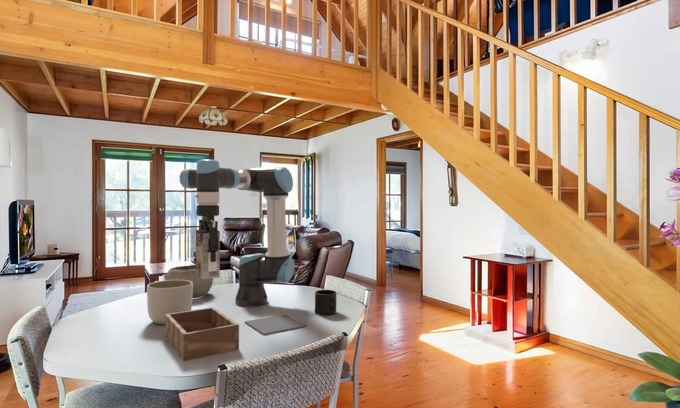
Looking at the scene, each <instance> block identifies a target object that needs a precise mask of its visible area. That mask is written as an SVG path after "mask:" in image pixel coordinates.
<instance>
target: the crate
mask: <svg viewBox="0 0 680 408" xmlns="http://www.w3.org/2000/svg"><path fill="white" fill-rule="evenodd" d="M164 338H166V340H167V341H168V343H170V345H171V347H172V348H173V349H174V350H175V351H176V353H177V354H178V356H179V357H180V358H181V359H182V360H183V361H189V360H193V359H199V358H203V357H207V356H213V355H217V354H221V353H226V352H230V351H235V350H239V349H240V324H239V323H237V322H236V321H235V320H233V319H231V318H230V317H228V316H227V315H226V314H224V313H223V312H222V311H220V310H219V309H217V308H216V307H214V306H212V307H205V308H199V309H191V310H190V311H184V312H177V313H170V314H165V325H164Z"/></svg>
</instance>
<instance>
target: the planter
mask: <svg viewBox="0 0 680 408" xmlns="http://www.w3.org/2000/svg"><path fill="white" fill-rule="evenodd" d="M192 294H193V282H192V281H189V280H166V279H165V280H157V281H154V282H150V283H148V284H147V285H146V301H147V303H146V305H147V312H148V313H147V314H148V317H149V318H150V320H151V321H153V322H154V323H155V324H158V325H163V326H165V314H170V313H177V312H184V311H190V310H192V307H193V299H192Z"/></svg>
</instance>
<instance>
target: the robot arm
mask: <svg viewBox="0 0 680 408" xmlns="http://www.w3.org/2000/svg"><path fill="white" fill-rule="evenodd" d="M219 162H220V161H218V160H215V159H199V160H198V161H196V168H184V169H183V170H181V172H180V173H179V184H180V185H181V187H182V188H184V189H190V190H191V189H196V194H195V195H194V198H196V211H195V213H196V216H198V217H201V219H199V220H198V230H205V231H209V233H210V239H208V247H209V250H207V253H208V272H211V271H217V251H218V250H219V242H218V231H219V230H218V227H219V226H218V224H219V221H216V220H215V217H217V216H219V215H220V206H219V205H218V204H220V189H226V190H227V189H229V190H230V189H236V190H239V191H248V192H254V193H255V192H257V193H262V197H263V198H264V199H265V200H266V226H267V229H266V230H267V231H266V235H267V251H266V252H265V253H252V254H246V255H242V256H240V258H239V262H238V270H239V271H238V275H239V276H238V279H239V280H238V284H239V285H238V289H237V291H236V295H235V300H234V301H235V302H234V303H235V305H237V306H240V307H241V306H242V307H256V306H262V305H265V304H267V302H268V295H267V294H268V293H267V291H266V288H265V283H274V284H275V283H276V284H286V283H288V282H290V280H291V279H292V278H293V275H294V271H295V265H296V264H295V261H294V258H291V257H290V252H288V250H287V229H286V223H287V220H286V218H287V217H286V199H287V198H288V197H289V193H290V192H292V191H293V187H294V178H293V175H292V173H291V171H290V170H289V169H288V168H287V167H283V166H270V167H269V166H267V167H251V168H245V169H244V168H243V169H242V168H240V169H237V170H236V169H233V168H231V167H228V168H227V167H221V166H220V163H219Z"/></svg>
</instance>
